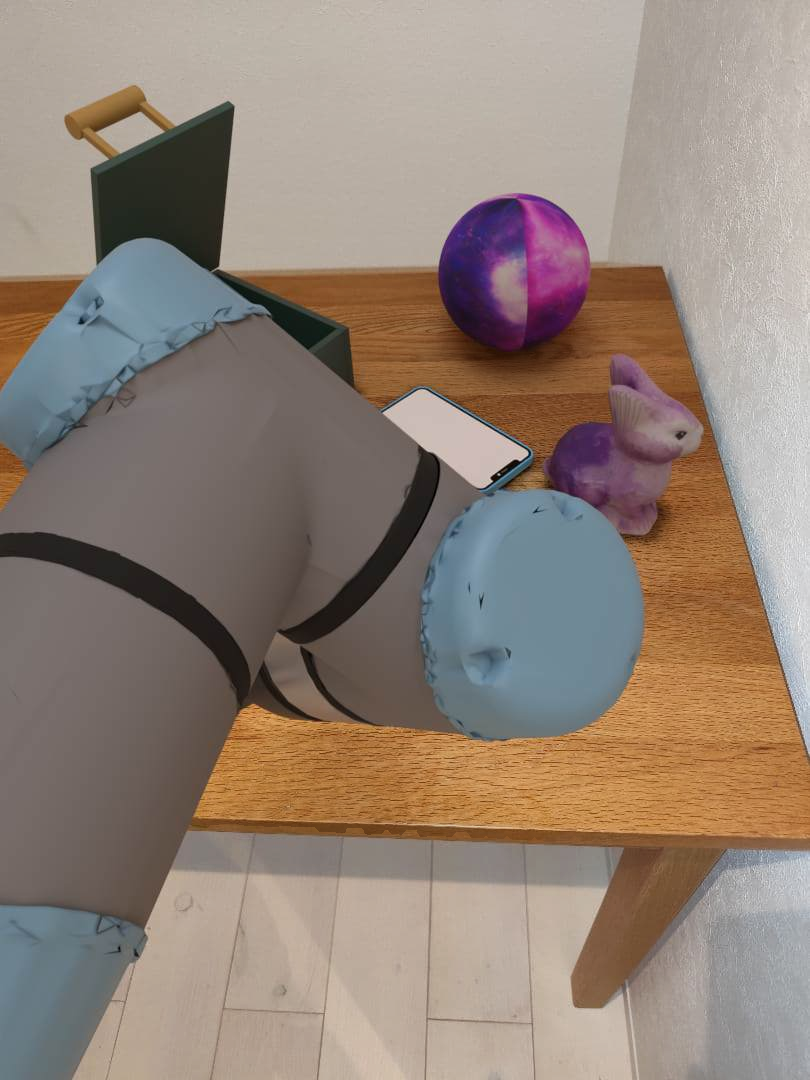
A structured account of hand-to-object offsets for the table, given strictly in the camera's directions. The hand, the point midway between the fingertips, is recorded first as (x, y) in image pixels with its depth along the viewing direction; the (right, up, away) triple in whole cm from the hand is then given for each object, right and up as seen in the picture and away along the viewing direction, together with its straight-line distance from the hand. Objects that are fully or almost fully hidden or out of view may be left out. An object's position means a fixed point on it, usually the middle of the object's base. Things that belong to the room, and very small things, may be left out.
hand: (189, 649), depth 57 cm
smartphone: (+18, +16, +27) cm, 36 cm away
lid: (-7, +35, +22) cm, 42 cm away
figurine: (+31, +10, +21) cm, 39 cm away
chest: (-3, +21, +32) cm, 39 cm away
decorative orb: (+25, +28, +38) cm, 53 cm away
